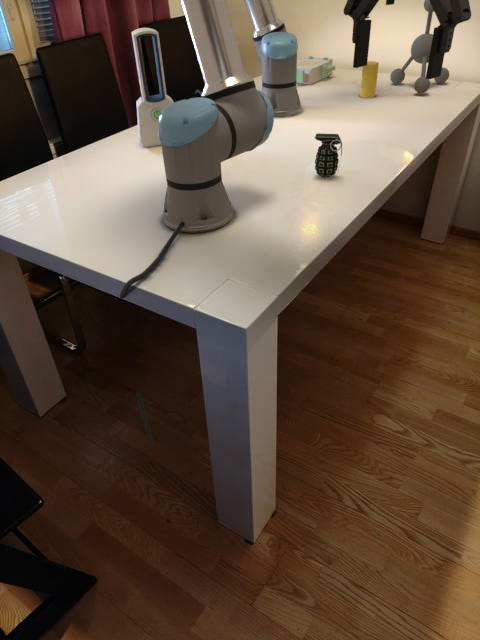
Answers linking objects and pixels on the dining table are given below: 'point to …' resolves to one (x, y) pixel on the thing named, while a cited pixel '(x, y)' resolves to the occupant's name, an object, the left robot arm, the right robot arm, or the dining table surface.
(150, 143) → the electronic device
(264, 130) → the left robot arm
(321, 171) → the grenade
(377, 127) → the dining table surface
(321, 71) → the decorative block
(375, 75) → the canister
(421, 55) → the molecular model
